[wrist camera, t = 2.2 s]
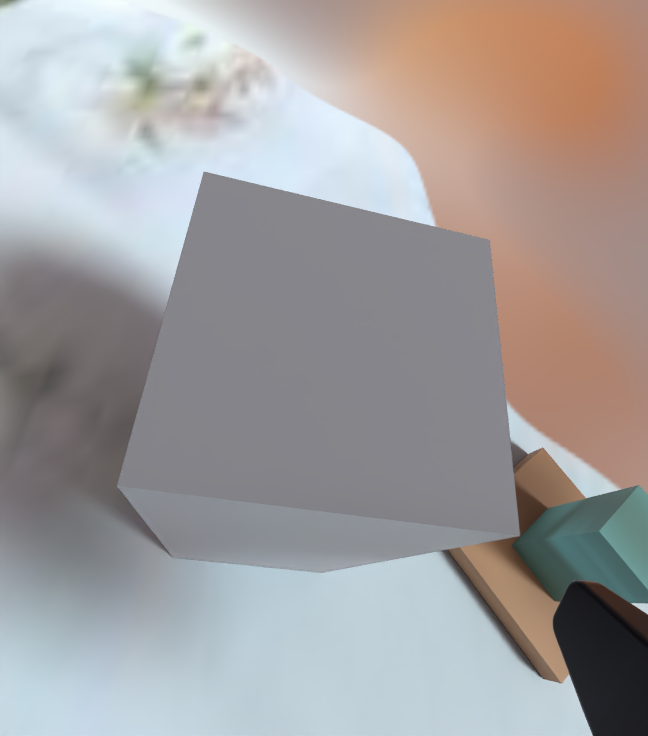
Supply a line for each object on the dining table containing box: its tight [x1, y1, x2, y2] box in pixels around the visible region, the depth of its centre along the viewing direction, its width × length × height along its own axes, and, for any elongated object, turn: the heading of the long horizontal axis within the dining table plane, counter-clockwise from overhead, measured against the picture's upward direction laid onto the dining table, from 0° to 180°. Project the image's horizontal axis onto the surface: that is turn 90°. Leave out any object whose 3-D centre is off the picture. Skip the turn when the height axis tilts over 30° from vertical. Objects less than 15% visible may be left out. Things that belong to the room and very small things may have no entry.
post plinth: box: [447, 448, 648, 683], centre depth 17 cm, size 6×6×6 cm
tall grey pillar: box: [117, 172, 520, 573], centre depth 12 cm, size 5×5×12 cm
